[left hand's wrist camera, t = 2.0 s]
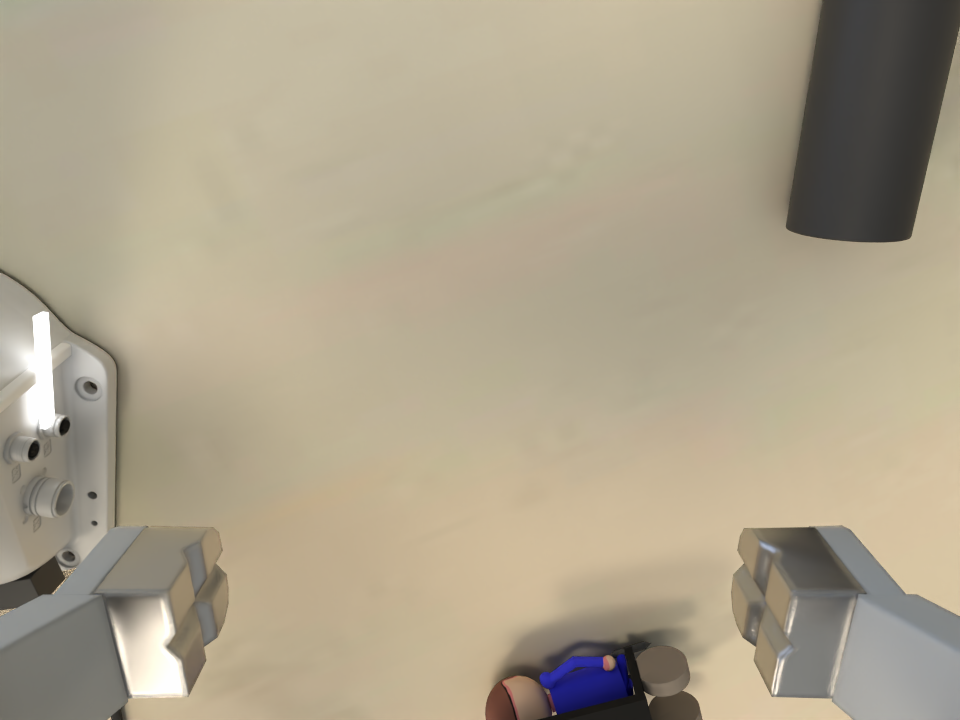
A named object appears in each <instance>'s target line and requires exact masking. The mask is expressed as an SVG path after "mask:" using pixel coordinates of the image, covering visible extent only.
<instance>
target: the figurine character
mask: <svg viewBox="0 0 960 720" xmlns="http://www.w3.org/2000/svg"><path fill="white" fill-rule="evenodd" d="M650 644H651V643H649V642H644V641H643V642H640V643H637V644H634V645H631V646H628V647H625V648H622V649H619V650H616V651H614V652H613V653H612V654H611V655H606V656H604V657H583V656H572V657H571V658H570V659H569V660H567V661H566V662H564V663H563V664H562V665H560V666H559V667H558V668H556V669H555V670H554V671H552V672H551V673H549V672H543V673H542V674H541V675H540V683H541V685H542V686H543V687H545V688H547V689H549V690H550V693H551V694H548V696H547V694H546V692H545V691H544V689H543V688H542V687H541V686H540V685H539V684H538V683H537V682H536V681H534V680H532V679H530V678H528V677H525V676H510V677H507V678H505V679H503V680H501V681H500V682H499V683H497V684H496V685H495V686H494V688H493V689H492V691H491V692H490V694H489V696H488V699H487V703H486V711H485V715H486V720H702V716H701V711H700V707H699V703H698V701H697V700H696V699H695V698H694V697H693V696H692V695H691V694H689V693H687V692H684V691H682V690H683V689H684V688H685V687H686V686H687V685H688V683H689V680H690V672H689V668H688V663H687V659H686V657H685V655H684V654H683V653H682V652H681V651H680V650H678V649H676V648H673V647H669V646H656V647H652V648H649V649H647V650H645V651H643V652H642V653H641V654H640V655H639V656H638V657H637V658H636V660H635V657H634V653H635V652H638V651H641V650H644V649H646V648H647V647H648V646H649V645H650ZM625 656H626V658H625ZM614 658H617V663H616V661H615V659H614ZM626 659H627V663H628V667H629V671H630V675H628V670H627V663H626ZM576 667H586V668H583V669H580V670H577V671H574V672H571V673H569V672H570V671H572V670H573V669H574V668H576ZM633 688H634V692H635V695H633ZM644 692H646V693H647V694H650V695H652V696H656V697H655V698H653V700H652V701H651V702H650V704H649V707H648V703H647V699H646V696H645V693H644ZM551 708H552V709H551ZM552 711H553V712H556V713H557V715H554V716H552Z"/></svg>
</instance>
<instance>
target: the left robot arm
mask: <svg viewBox="0 0 960 720" xmlns="http://www.w3.org/2000/svg"><path fill="white" fill-rule="evenodd" d="M89 381H90V382H93V383H95V384H96V386H97V389H94V388H92V387H91V386H90V383H89ZM116 397H117V369H116V364H115V362H114V360H113V359H112V357H111V356H110V355H109V354H108V353H106V352H105V351H104V350H102V349H101V348H100V347H98V346H96V345H95V344H93V343H91V342H89V341H88V340H86V339H84V338H82V337H80V336H78V335H76V334H74V333H73V332H71V331H70V330H69V329H68V328H66V327H65V326H64V325H63V324H62V323H61V322H60V321H59V320H58V319H57V317H56V316H55V315H54V314H53V313H52V312H51V311H50V310H49V309H48V308H47V307H46V306H45V305H44V304H43V303H42V302H41V301H40V300H39V299H38V298H37V297H36V296H35V295H34V294H32V293H31V292H30V291H29V290H27V289H26V288H25V287H24V286H22V285H21V284H19V283H18V282H16V281H15V280H13V279H12V278H10V277H8V276H6V275H5V274H3V273H1V272H0V610H5V609H12V608H16V609H14V610H12V611H10V612H8V613H6V614H4V615H2V616H0V720H107V719H108V718H110V717H111V719H112V720H123V719H122V714H121V709H120V708H121V707H122V706H124V705H125V704H126V703H127V702H128V698H162V697H188V696H189V694H190V692H191V690H192V688H193V686H194V684H195V682H196V680H197V678H198V676H199V674H200V672H201V670H202V668H203V666H204V664H205V662H206V656H205V650H204V647H205V646H206V645H207V644H209V643H210V642H212V641H213V640H214V639H216V638H217V637H218V635H219V633H220V631H221V628H222V626H223V624H224V621H225V617H226V612H227V608H228V596H229V587H228V581H227V574H226V573H225V572H224V571H223V570H222V569H221V568H220V567H219V566H218V565H217V564H216V562H217V560H218V558H219V556H220V554H221V553H222V551H223V550H222V545H221V540H220V535H219V532H218V531H217V530H216V529H215V528H213V527H173V526H150V527H148V526H118V527H115V470H116ZM737 551H738V553H739V554H740V556H741V558H742V560H743V562H744V564H743V565H742V566H741V567H740V568H739V569H738V570H737V571H736V572H735V573H734V574H733V582H732V590H731V597H732V609H733V614H734V617H735V621H736V624H737V626H738V629H739V631H740V633H741V635H742V637H743V638H744V639H746V640H747V641H748V642H750V643H751V644H753V645H754V646H755V647H756V650H755V656H754V662H755V664H756V666H757V668H758V670H759V672H760V674H761V676H762V678H763V680H764V682H765V684H766V686H767V688H768V690H769V692H770V694H771V696H772V697H797V698H832V702H833V703H834V704H836V705H837V706H838V707H839V708H840V709H841V710H843V711H844V712H845V713H846V714H847V715H848V716H850V717H851V718H852V719H853V720H960V616H958V615H956V614H954V613H952V612H950V611H948V610H946V609H944V608H942V607H940V606H938V605H936V604H934V603H932V602H930V601H929V600H927V599H925V598H923V597H921V596H919V595H909V594H905V592H904V591H903V590H902V589H901V588H900V587H899V585H898V584H897V583H896V582H895V581H894V580H893V579H892V577H891V576H890V575H889V574H888V573H887V572H886V570H885V569H884V568H883V567H882V566H881V565H880V564H879V562H878V561H877V560H876V559H875V558H874V557H873V555H872V554H871V553H870V552H869V551H868V550H867V548H866V547H865V546H864V545H863V544H862V543H861V542H860V540H859V539H858V538H857V537H856V536H855V535H854V533H853V532H852V531H851V530H850V529H848V528H846V527H844V526H842V525H841V526H810V527H794V528H744V529H743V531H742V533H741V535H740V539H739V544H738V550H737ZM70 552H72V553H73V554H74V555H73V554H71V553H70ZM74 568H76V569H75V570H74V572H73V573H72V574H71V575H70V576H69V577H68V579H67V580H66V581H65V582H64V583H63V584H62V585H61V587H60V588H59V589H58V590H57V591H56V592H55V594H52V593H53V592H54V590H55V589H56V588H57V587H58V586H59V585H60V583H61V582H62V581H63V580H64V579H65V577H64V574H63V572H62V571H66V570H70V569H74Z"/></svg>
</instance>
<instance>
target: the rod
mask: <svg viewBox="0 0 960 720" xmlns="http://www.w3.org/2000/svg"><path fill="white" fill-rule="evenodd" d="M959 27H960V0H823V3H822V9H821V15H820V22H819V28H818V34H817V40H816V46H815V52H814V58H813V64H812V70H811V76H810V82H809V89H808V95H807V101H806V107H805V113H804V119H803V125H802V131H801V137H800V143H799V149H798V156H797V162H796V168H795V174H794V180H793V186H792V192H791V198H790V204H789V210H788V217H787V223H786V228H787V229H788V230H790V231H792V232H794V233H798V234H801V235H806V236H811V237H816V238H823V239H831V240H840V241H852V242H897V241H903V240H907V239H909V238H911V235H912V231H913V227H914V222H915V218H916V214H917V209H918V205H919V201H920V196H921V192H922V188H923V183H924V179H925V175H926V170H927V166H928V162H929V157H930V153H931V149H932V144H933V140H934V136H935V131H936V127H937V123H938V118H939V114H940V110H941V105H942V101H943V97H944V92H945V88H946V84H947V79H948V75H949V71H950V66H951V62H952V58H953V53H954V49H955V44H956V40H957V36H958V31H959Z"/></svg>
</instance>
